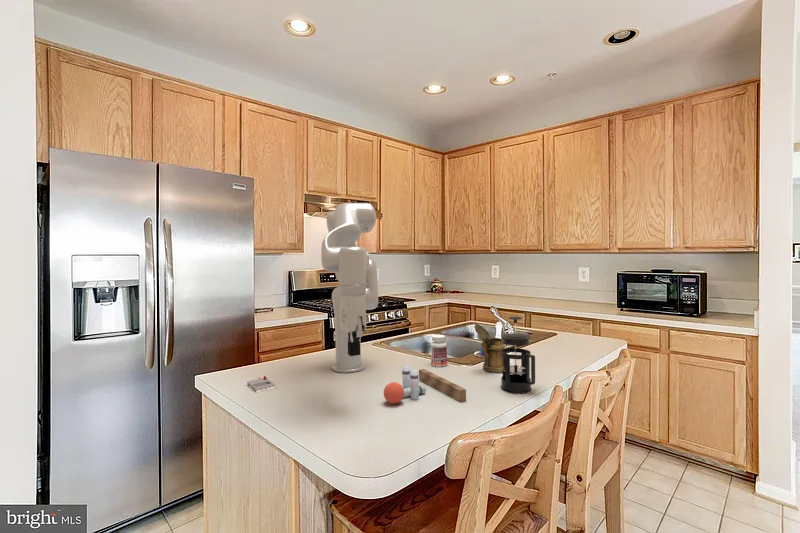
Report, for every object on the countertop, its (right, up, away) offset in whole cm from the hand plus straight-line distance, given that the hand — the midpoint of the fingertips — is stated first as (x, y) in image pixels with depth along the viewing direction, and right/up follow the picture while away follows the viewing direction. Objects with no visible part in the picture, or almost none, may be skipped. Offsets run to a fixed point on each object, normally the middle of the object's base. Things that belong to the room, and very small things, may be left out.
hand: (354, 354), depth 115 cm
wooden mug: (+46, -13, +33) cm, 59 cm away
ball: (+11, -12, +3) cm, 17 cm away
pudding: (+50, -13, +56) cm, 76 cm away
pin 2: (+17, -15, +7) cm, 24 cm away
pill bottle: (+28, -13, +42) cm, 52 cm away
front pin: (+13, -13, +7) cm, 20 cm away
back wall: (+26, -14, +14) cm, 33 cm away
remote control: (-34, -16, +21) cm, 43 cm away
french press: (+50, -14, +13) cm, 54 cm away
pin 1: (+15, -14, +11) cm, 24 cm away
